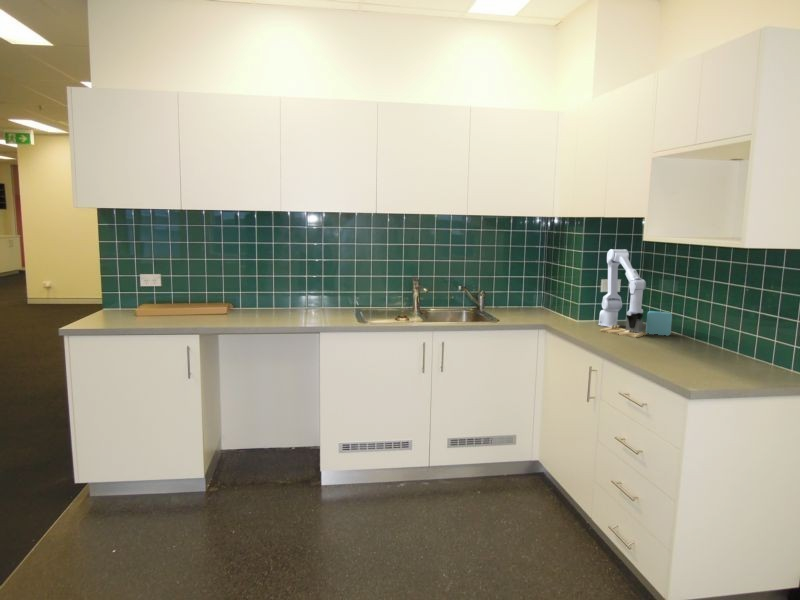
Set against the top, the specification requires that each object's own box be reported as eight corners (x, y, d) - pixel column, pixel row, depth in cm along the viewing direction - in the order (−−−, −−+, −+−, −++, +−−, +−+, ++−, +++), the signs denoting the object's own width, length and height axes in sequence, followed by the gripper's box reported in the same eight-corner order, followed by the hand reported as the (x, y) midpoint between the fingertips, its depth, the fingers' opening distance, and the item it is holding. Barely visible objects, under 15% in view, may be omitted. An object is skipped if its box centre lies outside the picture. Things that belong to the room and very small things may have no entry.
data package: (670, 334, 292) (672, 312, 291) (670, 336, 288) (672, 313, 286) (645, 332, 297) (647, 310, 295) (645, 333, 293) (647, 311, 291)
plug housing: (625, 329, 291) (626, 318, 291) (628, 329, 294) (629, 318, 293) (638, 332, 286) (639, 320, 285) (641, 331, 289) (642, 320, 288)
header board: (599, 331, 297) (600, 325, 296) (611, 328, 305) (611, 322, 305) (635, 337, 282) (636, 331, 281) (647, 334, 291) (647, 328, 290)
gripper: (637, 304, 280) (634, 330, 282) (649, 302, 290) (647, 327, 292) (623, 302, 285) (621, 328, 287) (636, 300, 295) (634, 325, 297)
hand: (633, 327), depth 290 cm, fingers closed on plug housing, 4 cm apart
